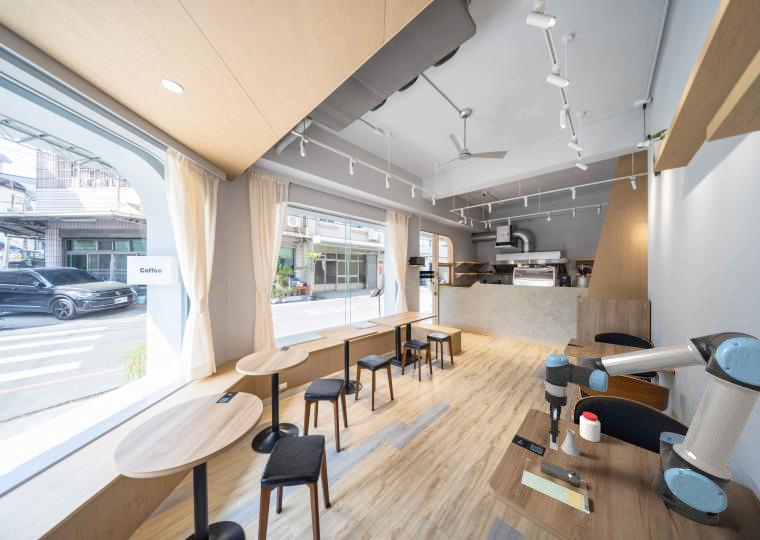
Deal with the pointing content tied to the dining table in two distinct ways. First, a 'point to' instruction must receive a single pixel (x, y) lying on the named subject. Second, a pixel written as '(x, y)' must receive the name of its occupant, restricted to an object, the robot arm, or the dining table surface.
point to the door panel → (556, 491)
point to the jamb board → (535, 468)
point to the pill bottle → (590, 427)
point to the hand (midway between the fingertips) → (553, 448)
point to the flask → (570, 444)
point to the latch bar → (561, 473)
